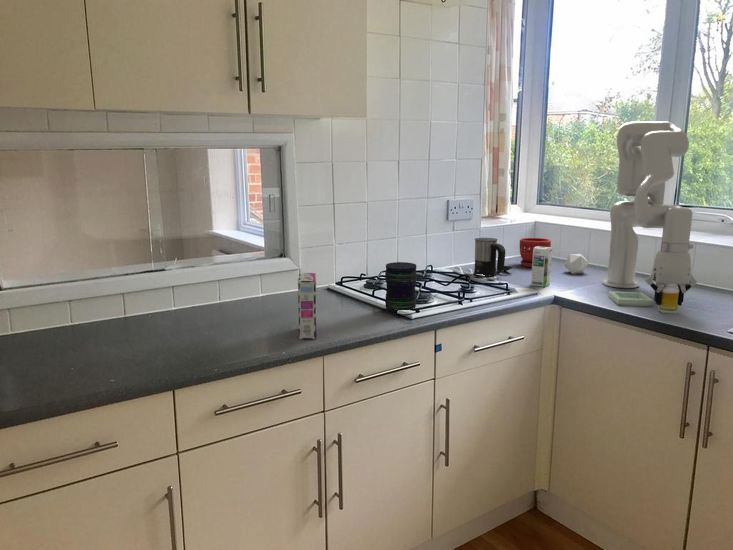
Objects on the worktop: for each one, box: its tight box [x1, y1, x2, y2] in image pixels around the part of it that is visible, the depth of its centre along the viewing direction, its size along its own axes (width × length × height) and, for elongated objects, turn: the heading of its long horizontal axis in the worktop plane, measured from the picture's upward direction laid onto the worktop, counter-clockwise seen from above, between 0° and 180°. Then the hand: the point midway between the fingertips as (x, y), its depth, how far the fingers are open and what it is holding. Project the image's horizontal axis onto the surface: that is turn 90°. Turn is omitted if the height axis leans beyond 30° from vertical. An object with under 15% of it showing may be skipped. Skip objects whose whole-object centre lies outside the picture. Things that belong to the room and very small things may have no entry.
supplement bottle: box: [657, 284, 679, 314], centre depth 180 cm, size 5×5×10 cm
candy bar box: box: [297, 272, 318, 341], centre depth 159 cm, size 11×5×16 cm, turn 5°
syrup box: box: [530, 246, 553, 288], centre depth 215 cm, size 6×6×14 cm
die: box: [564, 253, 589, 275], centre depth 237 cm, size 8×9×10 cm
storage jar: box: [384, 261, 418, 316], centre depth 181 cm, size 10×10×15 cm
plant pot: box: [519, 237, 552, 268], centre depth 251 cm, size 13×13×12 cm
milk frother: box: [473, 237, 515, 277], centre depth 235 cm, size 14×16×15 cm
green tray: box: [607, 291, 654, 307], centre depth 193 cm, size 11×11×2 cm
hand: (668, 303), depth 181 cm, fingers closed on supplement bottle, 5 cm apart
